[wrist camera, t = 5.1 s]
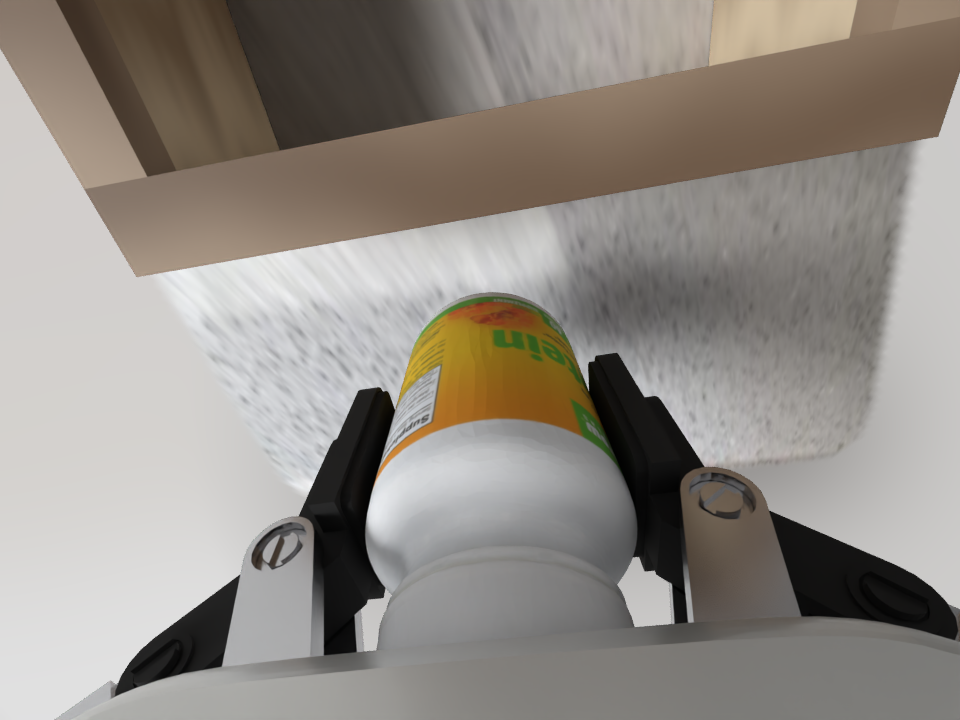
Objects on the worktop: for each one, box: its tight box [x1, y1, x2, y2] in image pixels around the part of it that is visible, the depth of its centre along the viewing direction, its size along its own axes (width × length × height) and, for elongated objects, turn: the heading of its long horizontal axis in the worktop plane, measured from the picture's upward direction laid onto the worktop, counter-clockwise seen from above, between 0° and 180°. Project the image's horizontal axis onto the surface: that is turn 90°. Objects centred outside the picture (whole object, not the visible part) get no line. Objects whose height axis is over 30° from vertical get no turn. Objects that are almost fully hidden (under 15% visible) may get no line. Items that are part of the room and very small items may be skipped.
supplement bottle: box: [365, 292, 637, 651], centre depth 10 cm, size 5×5×10 cm
